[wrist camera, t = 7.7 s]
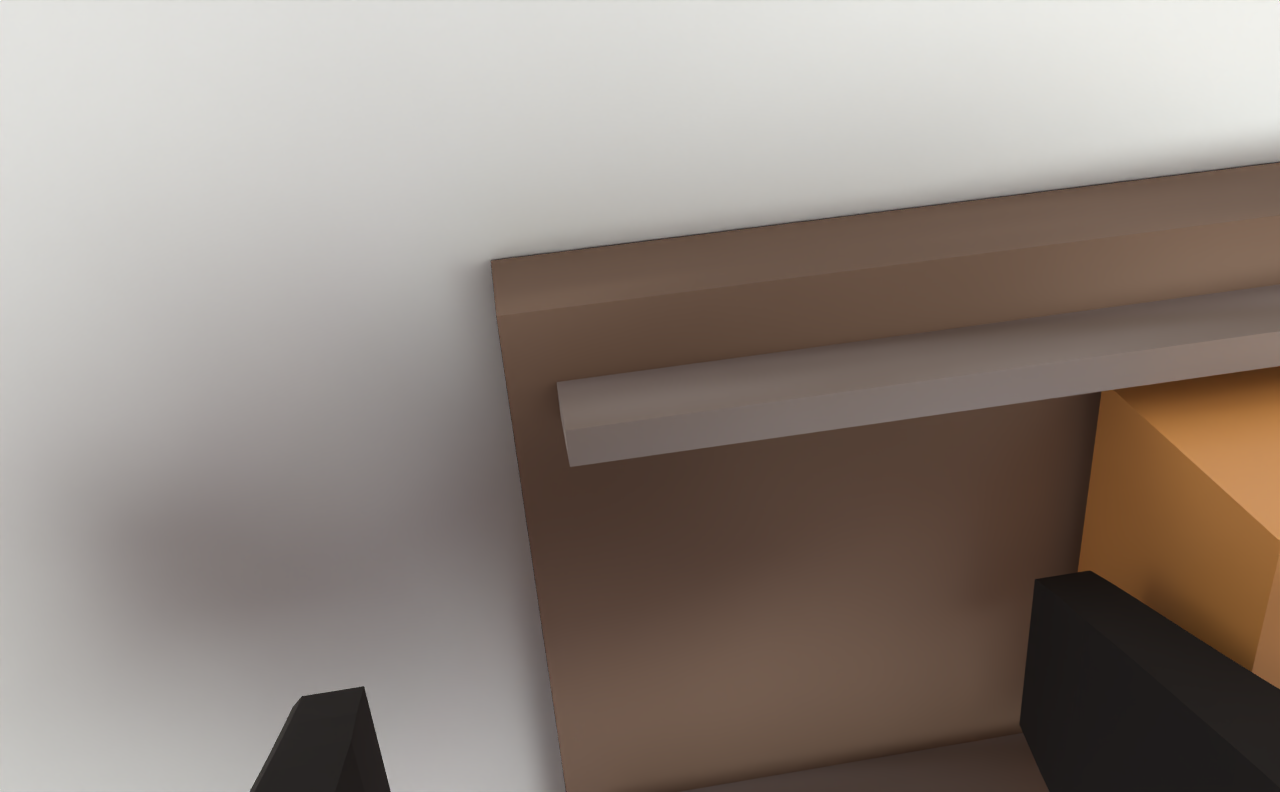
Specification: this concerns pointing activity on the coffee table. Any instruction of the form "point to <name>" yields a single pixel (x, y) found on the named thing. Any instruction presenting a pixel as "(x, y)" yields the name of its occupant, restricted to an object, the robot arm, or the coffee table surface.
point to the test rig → (846, 468)
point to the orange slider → (1194, 508)
